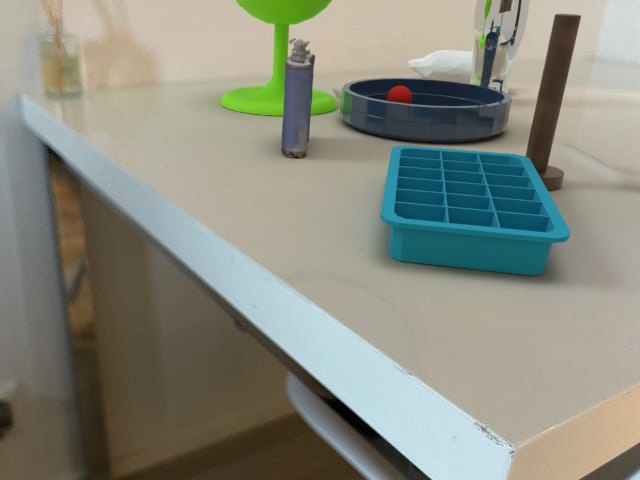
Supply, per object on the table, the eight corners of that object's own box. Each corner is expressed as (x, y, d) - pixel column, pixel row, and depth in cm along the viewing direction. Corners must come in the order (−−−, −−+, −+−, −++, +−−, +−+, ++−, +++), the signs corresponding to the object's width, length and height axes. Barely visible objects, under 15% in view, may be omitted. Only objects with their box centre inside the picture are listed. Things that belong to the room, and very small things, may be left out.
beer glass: (465, 95, 100) (482, -14, 93) (513, 100, 97) (535, -12, 90) (456, 103, 94) (474, -13, 87) (507, 108, 91) (530, -11, 85)
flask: (306, 158, 66) (312, 44, 61) (277, 157, 66) (281, 43, 61) (310, 137, 74) (316, 35, 69) (284, 135, 74) (288, 34, 70)
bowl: (476, 110, 90) (481, 79, 88) (530, 146, 72) (537, 109, 71) (332, 106, 90) (334, 76, 88) (351, 142, 72) (354, 105, 70)
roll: (407, 81, 110) (411, 45, 108) (482, 86, 107) (488, 50, 105) (403, 87, 105) (408, 49, 103) (482, 92, 102) (489, 54, 100)
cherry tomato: (407, 109, 86) (410, 84, 85) (412, 114, 83) (416, 88, 82) (383, 108, 86) (385, 83, 85) (387, 113, 83) (390, 87, 82)
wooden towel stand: (548, 174, 63) (584, 13, 56) (570, 191, 58) (613, 17, 52) (495, 173, 63) (526, 11, 56) (514, 190, 58) (549, 16, 52)
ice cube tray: (520, 188, 59) (527, 155, 57) (563, 285, 41) (575, 240, 40) (388, 176, 61) (392, 144, 60) (374, 263, 43) (379, 220, 42)
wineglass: (241, 118, 81) (243, -45, 73) (207, 95, 95) (205, -46, 87) (358, 112, 86) (371, -42, 78) (309, 91, 100) (317, -43, 92)
